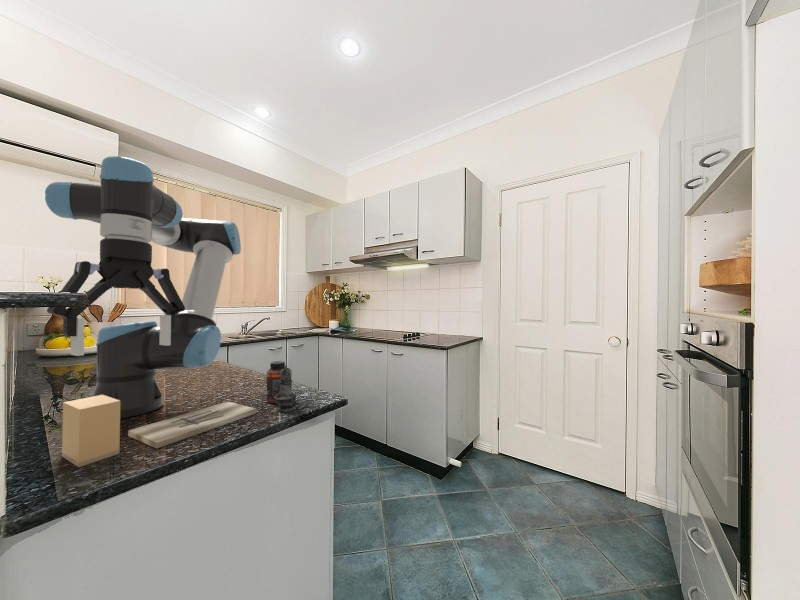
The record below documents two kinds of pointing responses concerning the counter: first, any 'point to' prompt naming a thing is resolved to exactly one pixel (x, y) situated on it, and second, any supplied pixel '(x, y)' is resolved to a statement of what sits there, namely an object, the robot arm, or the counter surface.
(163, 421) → the birch board
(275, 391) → the supplement bottle
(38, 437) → the counter surface
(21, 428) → the counter surface
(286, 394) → the grey chess piece
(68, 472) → the counter surface
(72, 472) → the counter surface
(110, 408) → the block
